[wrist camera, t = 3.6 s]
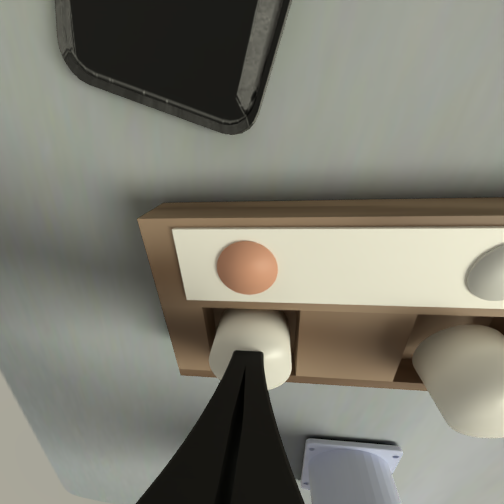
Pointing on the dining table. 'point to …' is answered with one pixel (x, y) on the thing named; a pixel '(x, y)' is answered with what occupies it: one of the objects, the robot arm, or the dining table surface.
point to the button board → (316, 315)
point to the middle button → (465, 377)
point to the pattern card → (345, 265)
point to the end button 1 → (254, 342)
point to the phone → (177, 54)
